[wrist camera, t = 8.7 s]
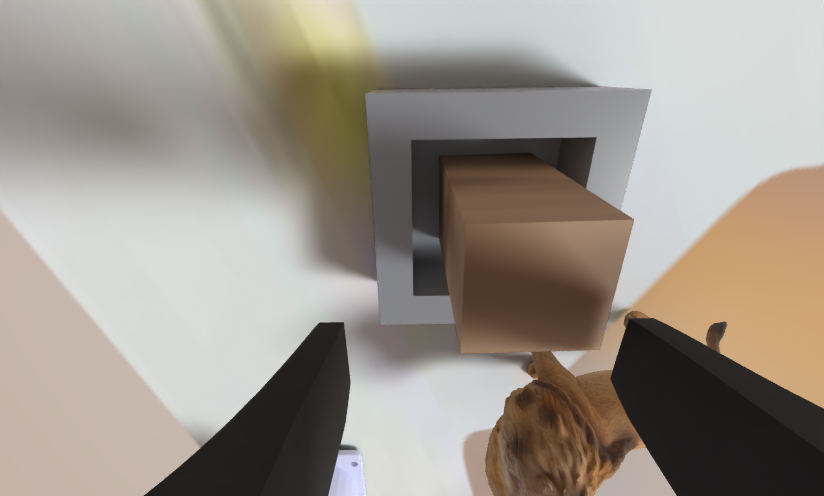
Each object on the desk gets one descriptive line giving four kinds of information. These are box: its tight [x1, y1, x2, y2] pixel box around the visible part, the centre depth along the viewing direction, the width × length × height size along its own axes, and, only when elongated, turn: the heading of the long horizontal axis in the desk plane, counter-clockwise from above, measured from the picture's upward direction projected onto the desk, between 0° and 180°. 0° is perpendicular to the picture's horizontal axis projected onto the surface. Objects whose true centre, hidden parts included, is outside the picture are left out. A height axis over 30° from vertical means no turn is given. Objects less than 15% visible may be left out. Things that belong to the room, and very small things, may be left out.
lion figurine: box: [485, 311, 727, 496], centre depth 17 cm, size 15×5×9 cm, turn 107°
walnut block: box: [439, 153, 634, 354], centre depth 13 cm, size 4×4×8 cm
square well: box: [365, 86, 651, 325], centre depth 15 cm, size 10×10×4 cm
